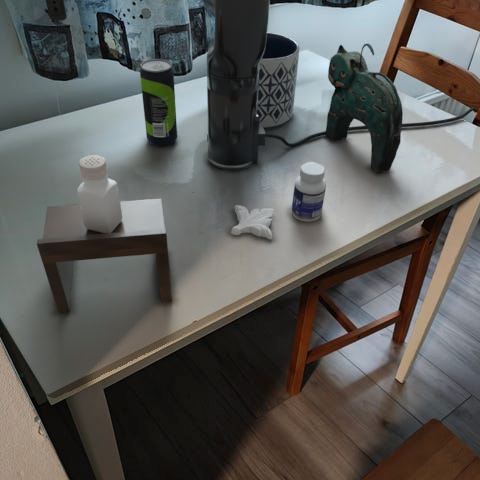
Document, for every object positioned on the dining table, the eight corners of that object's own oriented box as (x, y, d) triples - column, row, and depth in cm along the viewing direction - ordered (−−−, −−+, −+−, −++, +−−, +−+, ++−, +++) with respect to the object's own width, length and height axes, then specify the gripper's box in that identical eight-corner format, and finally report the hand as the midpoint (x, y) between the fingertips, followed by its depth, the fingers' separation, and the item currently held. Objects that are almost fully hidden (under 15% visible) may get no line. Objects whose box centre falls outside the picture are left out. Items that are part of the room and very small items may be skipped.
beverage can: (183, 139, 108) (180, 64, 97) (162, 151, 105) (155, 74, 94) (162, 130, 111) (156, 55, 100) (140, 140, 108) (132, 64, 97)
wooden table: (166, 253, 83) (160, 186, 74) (172, 301, 76) (166, 233, 67) (62, 262, 81) (43, 194, 72) (58, 312, 73) (36, 243, 65)
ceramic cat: (316, 133, 112) (330, 31, 98) (340, 127, 114) (358, 27, 100) (374, 178, 100) (401, 70, 86) (400, 170, 103) (430, 64, 88)
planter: (207, 113, 117) (206, 44, 106) (253, 91, 125) (256, 26, 115) (262, 137, 110) (266, 66, 100) (306, 113, 118) (315, 45, 108)
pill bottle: (289, 205, 93) (294, 160, 87) (318, 204, 94) (325, 159, 87) (293, 223, 90) (299, 177, 83) (323, 222, 90) (332, 176, 84)
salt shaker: (124, 219, 72) (114, 156, 65) (110, 236, 69) (98, 172, 62) (98, 213, 73) (86, 150, 66) (83, 230, 70) (69, 166, 63)
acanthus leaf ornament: (234, 211, 92) (234, 201, 90) (273, 214, 91) (274, 204, 90) (230, 236, 86) (230, 227, 85) (272, 240, 86) (273, 230, 85)
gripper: (59, -142, 55) (87, 26, 67) (65, -157, 65) (89, -8, 77) (-15, -143, 54) (27, 28, 66) (2, -158, 64) (36, -6, 76)
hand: (60, 8), depth 71 cm, fingers open, 8 cm apart
